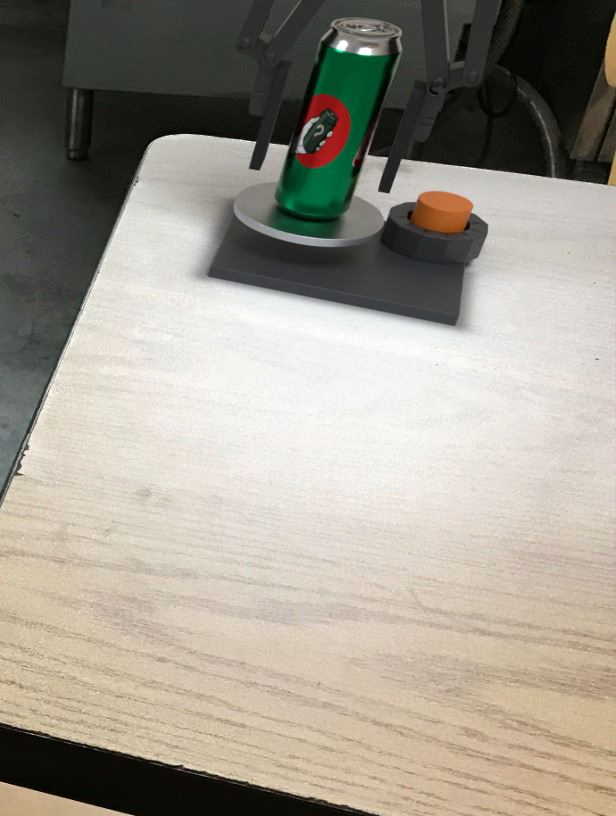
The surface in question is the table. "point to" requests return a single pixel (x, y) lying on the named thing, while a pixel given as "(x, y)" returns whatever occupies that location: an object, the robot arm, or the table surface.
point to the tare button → (441, 211)
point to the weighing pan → (269, 219)
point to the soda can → (338, 118)
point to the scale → (361, 266)
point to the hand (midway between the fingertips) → (320, 174)
